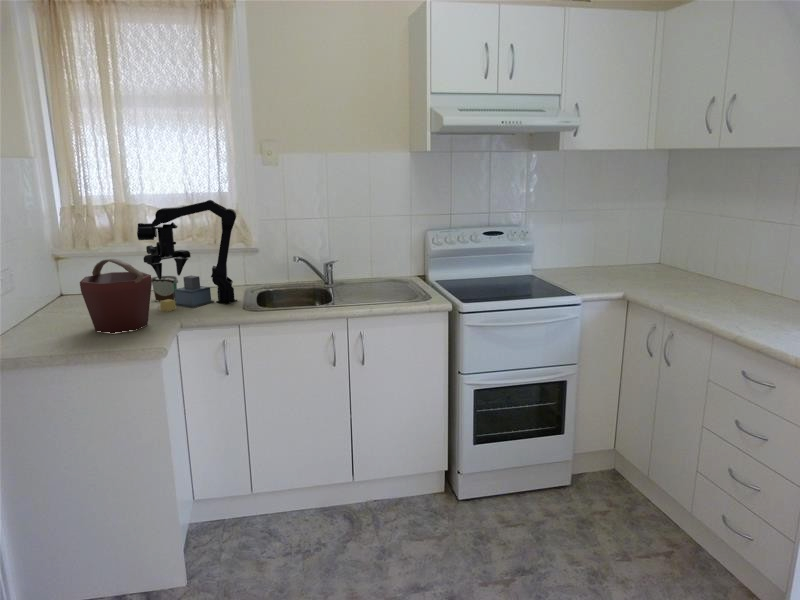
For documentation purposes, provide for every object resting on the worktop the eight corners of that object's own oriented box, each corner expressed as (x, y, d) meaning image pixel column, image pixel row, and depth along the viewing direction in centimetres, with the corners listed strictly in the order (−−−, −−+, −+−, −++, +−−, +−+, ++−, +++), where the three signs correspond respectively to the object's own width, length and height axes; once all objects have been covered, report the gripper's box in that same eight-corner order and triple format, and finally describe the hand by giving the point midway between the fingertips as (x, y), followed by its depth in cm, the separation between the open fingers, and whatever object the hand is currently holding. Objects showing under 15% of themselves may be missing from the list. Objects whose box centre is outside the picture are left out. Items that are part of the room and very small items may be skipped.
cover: (211, 301, 246) (209, 275, 243) (192, 306, 237) (190, 279, 234) (194, 298, 250) (192, 273, 248) (176, 303, 242) (173, 277, 239)
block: (175, 309, 233) (174, 300, 233) (167, 312, 230) (166, 302, 229) (169, 308, 235) (168, 299, 234) (160, 310, 232) (159, 301, 231)
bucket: (164, 328, 207) (157, 259, 201) (98, 341, 192) (88, 268, 186) (138, 316, 224) (131, 252, 218) (76, 327, 209) (66, 259, 203)
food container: (186, 298, 252) (183, 276, 250) (177, 301, 246) (174, 279, 244) (162, 297, 255) (159, 275, 253) (152, 300, 250) (150, 277, 247)
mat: (214, 301, 246) (214, 300, 246) (192, 307, 236) (192, 306, 236) (194, 298, 252) (194, 297, 252) (172, 304, 241) (172, 303, 241)
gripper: (172, 235, 246) (175, 271, 249) (132, 240, 230) (137, 279, 234) (189, 237, 240) (192, 274, 244) (150, 242, 225) (154, 281, 228)
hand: (169, 277), depth 238 cm, fingers open, 9 cm apart
